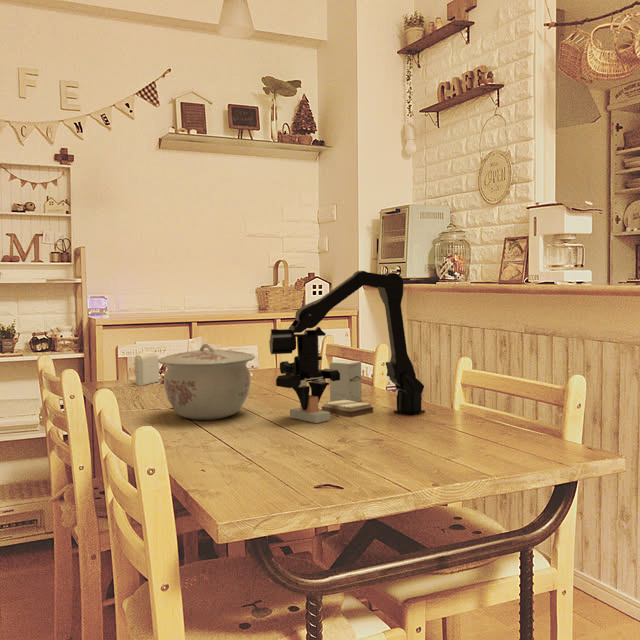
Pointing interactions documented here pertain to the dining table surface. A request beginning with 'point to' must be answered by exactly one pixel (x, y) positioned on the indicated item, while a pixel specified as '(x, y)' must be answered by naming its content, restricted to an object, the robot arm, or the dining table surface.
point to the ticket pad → (347, 408)
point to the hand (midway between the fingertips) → (309, 409)
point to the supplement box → (346, 381)
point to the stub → (310, 412)
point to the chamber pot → (207, 382)
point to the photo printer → (146, 368)
